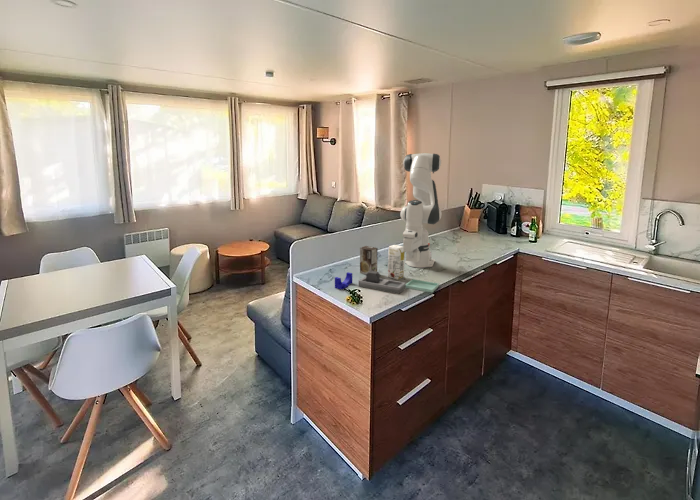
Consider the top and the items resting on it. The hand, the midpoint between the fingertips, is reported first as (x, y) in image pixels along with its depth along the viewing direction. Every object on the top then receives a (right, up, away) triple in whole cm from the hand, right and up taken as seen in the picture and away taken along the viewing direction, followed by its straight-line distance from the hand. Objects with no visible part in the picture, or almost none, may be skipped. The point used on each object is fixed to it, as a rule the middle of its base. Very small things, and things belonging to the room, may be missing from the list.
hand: (412, 257), depth 206 cm
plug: (0, -2, 0) cm, 2 cm away
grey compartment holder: (-16, -17, +6) cm, 24 cm away
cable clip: (-36, -16, +8) cm, 41 cm away
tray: (+6, -17, +6) cm, 19 cm away
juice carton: (-6, -13, +22) cm, 26 cm away
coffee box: (-22, -11, +30) cm, 39 cm away
